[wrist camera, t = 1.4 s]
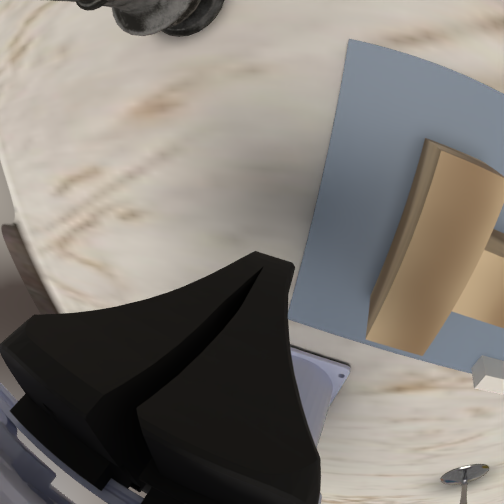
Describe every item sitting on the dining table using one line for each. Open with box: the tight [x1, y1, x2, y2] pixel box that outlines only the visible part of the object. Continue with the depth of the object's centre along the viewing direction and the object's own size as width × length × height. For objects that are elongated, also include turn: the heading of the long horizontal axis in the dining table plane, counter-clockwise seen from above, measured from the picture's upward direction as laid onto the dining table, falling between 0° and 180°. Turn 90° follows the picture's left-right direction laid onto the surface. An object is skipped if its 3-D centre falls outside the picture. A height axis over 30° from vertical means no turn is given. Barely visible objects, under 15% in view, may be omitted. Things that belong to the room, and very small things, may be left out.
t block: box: [366, 138, 504, 356], centre depth 13 cm, size 10×10×4 cm
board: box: [288, 39, 504, 374], centre depth 14 cm, size 18×24×1 cm
